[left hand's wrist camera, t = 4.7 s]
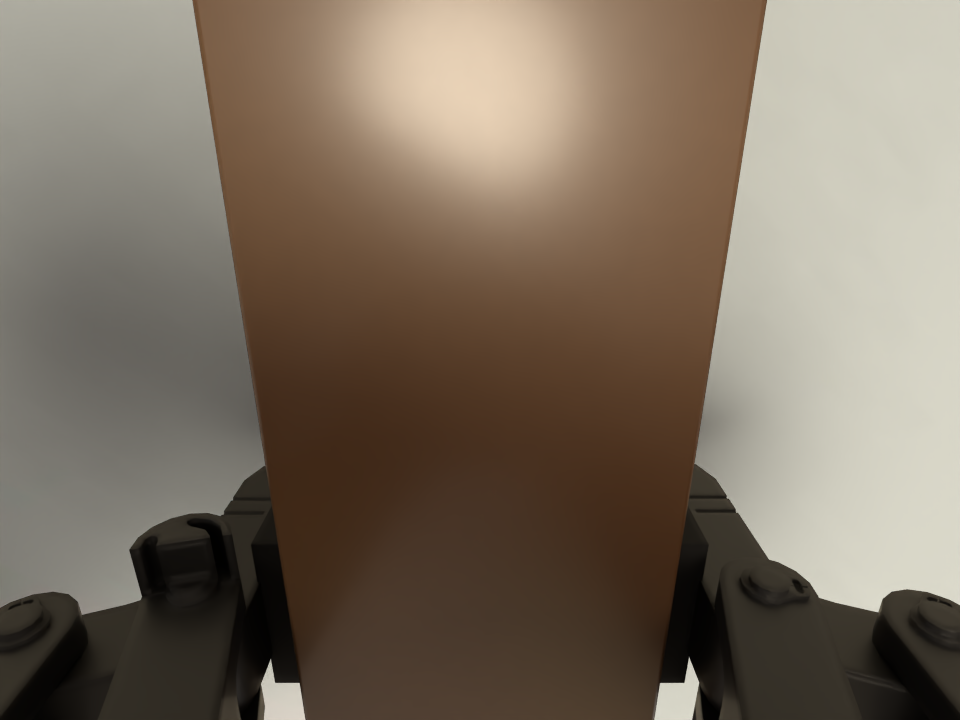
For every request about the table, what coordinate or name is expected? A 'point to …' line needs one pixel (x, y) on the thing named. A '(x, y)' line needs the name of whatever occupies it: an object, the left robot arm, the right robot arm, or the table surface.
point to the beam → (479, 330)
